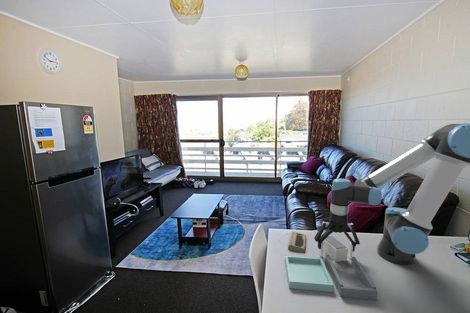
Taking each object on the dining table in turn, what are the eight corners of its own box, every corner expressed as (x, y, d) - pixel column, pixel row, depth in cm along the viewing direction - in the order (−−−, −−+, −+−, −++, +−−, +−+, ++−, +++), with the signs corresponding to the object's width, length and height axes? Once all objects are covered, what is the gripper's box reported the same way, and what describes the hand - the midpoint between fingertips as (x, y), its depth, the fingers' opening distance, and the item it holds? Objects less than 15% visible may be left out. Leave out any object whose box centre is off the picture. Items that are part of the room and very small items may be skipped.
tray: (321, 264, 107) (321, 258, 106) (333, 292, 89) (333, 285, 89) (284, 261, 108) (285, 255, 108) (289, 288, 91) (289, 281, 90)
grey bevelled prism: (331, 247, 122) (332, 235, 121) (346, 260, 110) (348, 247, 109) (320, 248, 120) (321, 236, 119) (335, 262, 109) (336, 248, 108)
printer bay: (354, 265, 106) (354, 256, 106) (376, 300, 85) (377, 289, 85) (325, 263, 108) (325, 254, 107) (340, 296, 87) (341, 286, 86)
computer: (304, 253, 116) (305, 246, 116) (287, 250, 119) (288, 243, 118) (306, 238, 131) (306, 232, 131) (290, 236, 134) (291, 230, 133)
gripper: (363, 211, 112) (359, 254, 115) (309, 208, 115) (306, 250, 118) (370, 217, 105) (366, 263, 108) (312, 214, 107) (309, 258, 110)
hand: (335, 256), depth 113 cm, fingers open, 12 cm apart
